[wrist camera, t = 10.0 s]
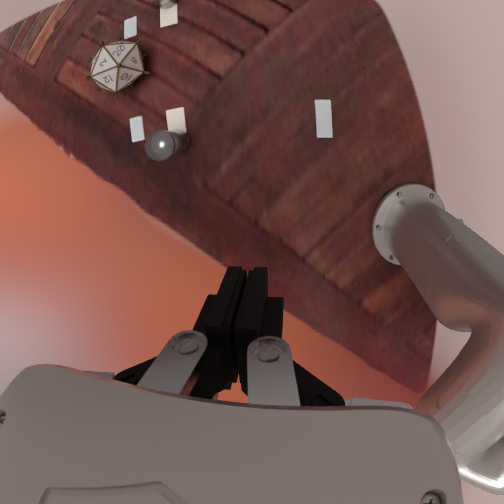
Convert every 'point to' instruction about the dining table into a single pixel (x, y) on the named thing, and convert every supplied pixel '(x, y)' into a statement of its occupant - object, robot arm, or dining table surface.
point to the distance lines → (177, 115)
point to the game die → (117, 65)
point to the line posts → (164, 141)
